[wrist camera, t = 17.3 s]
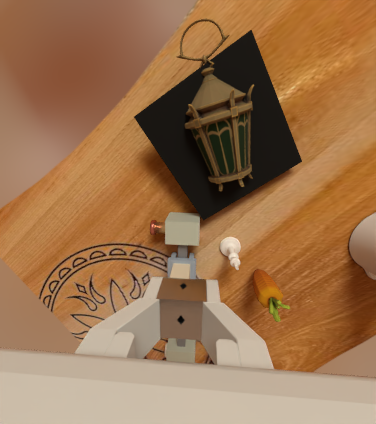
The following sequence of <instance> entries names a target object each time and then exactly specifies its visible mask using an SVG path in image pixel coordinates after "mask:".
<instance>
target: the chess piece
mask: <svg viewBox="0 0 376 424" xmlns="http://www.w3.org/2000/svg"><path fill="white" fill-rule="evenodd" d="M240 249H241V245H240V242H239V241H238V240H237V239H236V238H234V237H227V238H225V239H223V240H222V241H221V243H220V250H221V252H222V253H223V254H224V255H225V256H228V258H229V260H230V264H231V266H233V267H236V269H237V270H239V268H238V266H239V265H240V260H239V259H238V258H239V257H238V253H239V252H240Z"/></svg>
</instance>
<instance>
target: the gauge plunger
mask: <svg viewBox="0 0 376 424" xmlns="http://www.w3.org/2000/svg"><path fill="white" fill-rule="evenodd" d="M150 233H151V235H156V233H165V222H157V221H156V220H152V221H151V225H150Z"/></svg>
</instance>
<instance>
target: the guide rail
mask: <svg viewBox="0 0 376 424" xmlns="http://www.w3.org/2000/svg"><path fill="white" fill-rule="evenodd" d="M199 230H200V214H199V213H176V212H170V213H169V215H168V217H167V219H166V221H165V244H172V245H178V258H188V245H195V246H199ZM195 341H196V340H189V339H177V338H169V339H168V343H166V345H165V357H166V361H175V362H187V363H195Z"/></svg>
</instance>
